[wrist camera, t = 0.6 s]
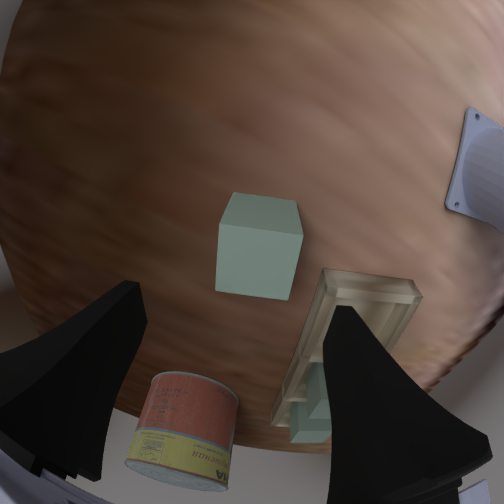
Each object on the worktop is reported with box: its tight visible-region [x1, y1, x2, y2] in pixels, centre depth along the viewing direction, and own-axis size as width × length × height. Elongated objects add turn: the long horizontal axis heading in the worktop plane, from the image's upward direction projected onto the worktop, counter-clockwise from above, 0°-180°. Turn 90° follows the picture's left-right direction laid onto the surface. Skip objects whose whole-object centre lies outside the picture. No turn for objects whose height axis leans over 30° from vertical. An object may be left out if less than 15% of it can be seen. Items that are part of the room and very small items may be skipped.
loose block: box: [215, 192, 304, 300], centre depth 16 cm, size 4×4×5 cm
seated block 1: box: [306, 362, 331, 419], centre depth 22 cm, size 4×4×5 cm
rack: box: [270, 268, 423, 427], centre depth 24 cm, size 8×23×2 cm, turn 173°
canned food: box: [124, 371, 239, 492], centre depth 25 cm, size 11×11×12 cm
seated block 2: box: [290, 401, 332, 443], centre depth 26 cm, size 4×4×5 cm
